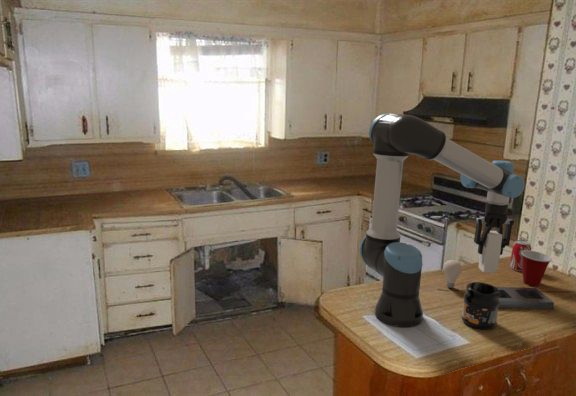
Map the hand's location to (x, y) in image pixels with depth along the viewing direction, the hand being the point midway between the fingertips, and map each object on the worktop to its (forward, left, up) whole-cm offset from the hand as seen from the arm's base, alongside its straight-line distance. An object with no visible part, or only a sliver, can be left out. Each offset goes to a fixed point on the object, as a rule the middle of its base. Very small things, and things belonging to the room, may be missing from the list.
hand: (488, 262), depth 174 cm
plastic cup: (+19, +3, -10) cm, 22 cm away
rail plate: (+4, -13, -10) cm, 17 cm away
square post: (0, 0, -3) cm, 3 cm away
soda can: (+21, +18, -10) cm, 30 cm away
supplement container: (-15, -30, -10) cm, 35 cm away
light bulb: (-15, -3, -10) cm, 18 cm away
